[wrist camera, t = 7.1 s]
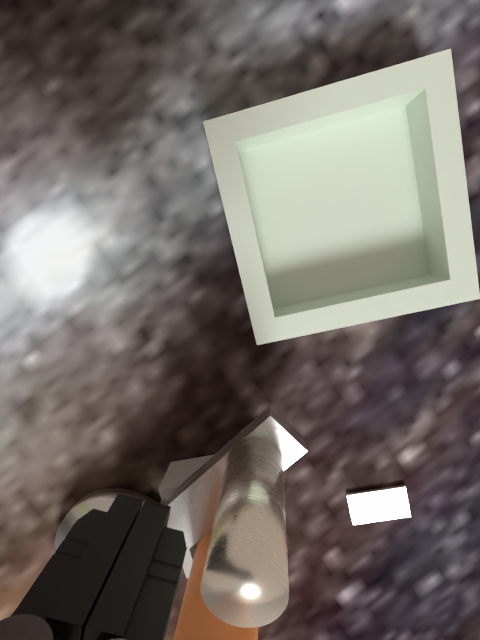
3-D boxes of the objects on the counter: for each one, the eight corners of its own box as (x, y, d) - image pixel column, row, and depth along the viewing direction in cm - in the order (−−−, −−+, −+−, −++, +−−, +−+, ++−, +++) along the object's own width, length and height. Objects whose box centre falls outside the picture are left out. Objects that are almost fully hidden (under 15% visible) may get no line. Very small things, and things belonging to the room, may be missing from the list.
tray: (451, 289, 17) (480, 298, 15) (259, 330, 19) (256, 345, 16) (423, 77, 16) (450, 48, 13) (213, 137, 17) (202, 121, 14)
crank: (117, 601, 21) (22, 825, 13) (63, 556, 21) (-68, 757, 13) (316, 437, 18) (351, 599, 10) (257, 379, 18) (243, 500, 10)
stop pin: (268, 522, 21) (263, 824, 10) (215, 530, 21) (157, 829, 11) (255, 474, 20) (236, 742, 10) (201, 483, 21) (126, 749, 10)
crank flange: (416, 555, 21) (424, 571, 20) (86, 597, 23) (78, 613, 22) (396, 439, 19) (403, 450, 18) (47, 497, 22) (37, 510, 21)
